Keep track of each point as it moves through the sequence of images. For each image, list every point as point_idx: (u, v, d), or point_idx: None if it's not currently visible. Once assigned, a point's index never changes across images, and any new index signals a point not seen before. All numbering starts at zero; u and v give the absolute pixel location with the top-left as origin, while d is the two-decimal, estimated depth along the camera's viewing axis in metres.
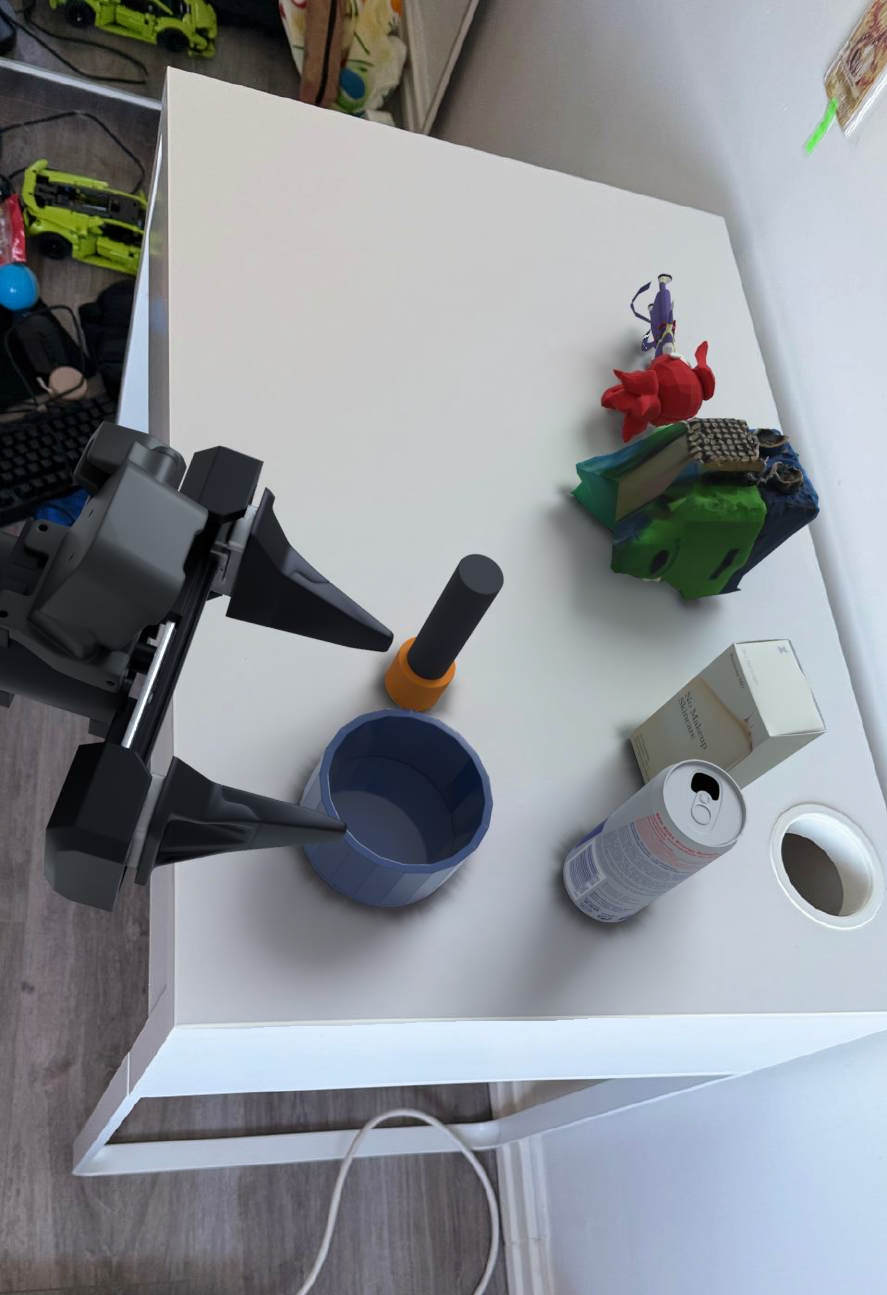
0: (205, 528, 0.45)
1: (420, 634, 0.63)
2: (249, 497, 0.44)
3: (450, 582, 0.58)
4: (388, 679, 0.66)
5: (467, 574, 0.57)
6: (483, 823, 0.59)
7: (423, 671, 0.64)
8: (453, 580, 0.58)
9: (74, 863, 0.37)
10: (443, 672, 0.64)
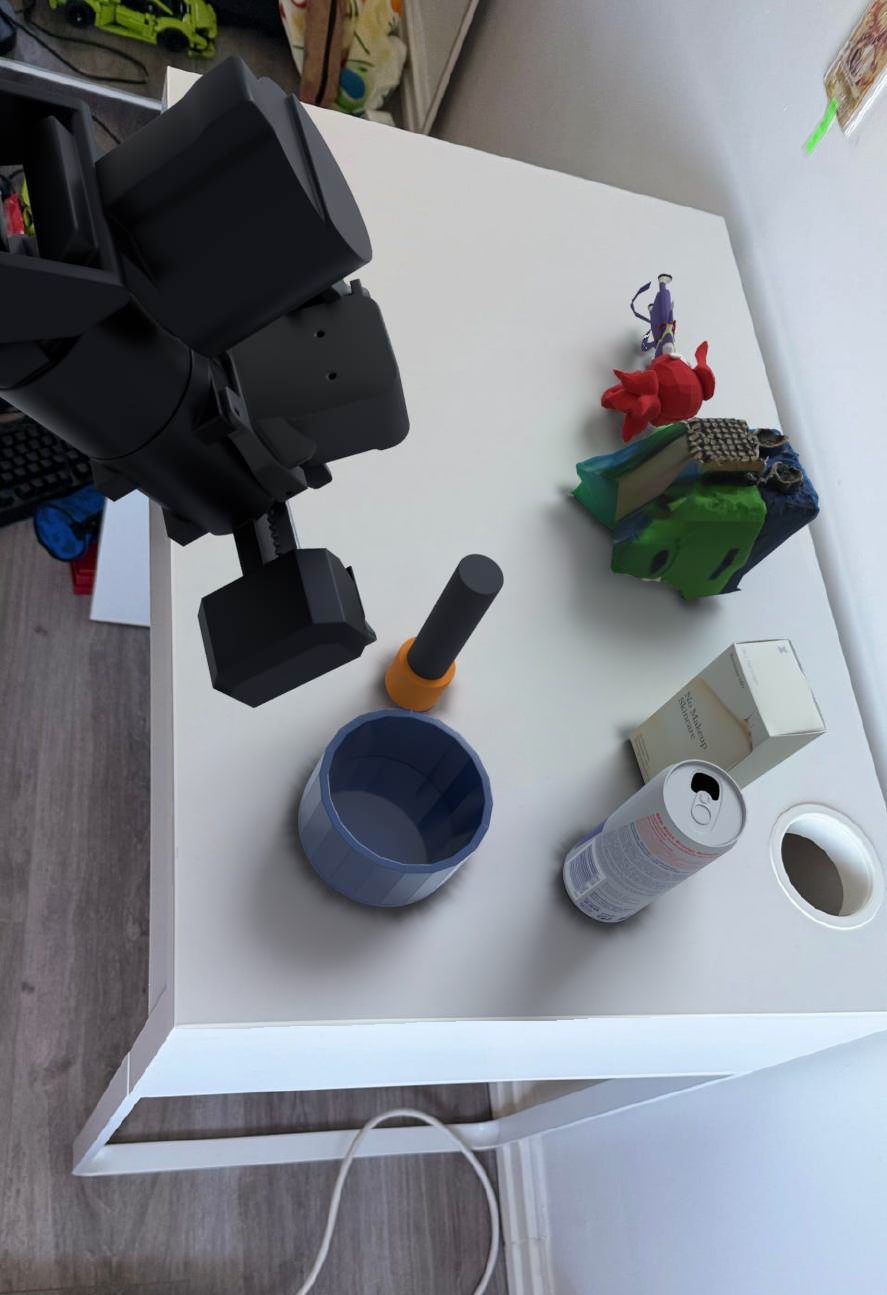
0: None
1: (420, 634, 0.63)
2: None
3: (450, 582, 0.58)
4: (388, 679, 0.66)
5: (467, 574, 0.57)
6: (483, 823, 0.59)
7: (423, 671, 0.64)
8: (453, 580, 0.58)
9: (312, 657, 0.41)
10: (443, 672, 0.64)
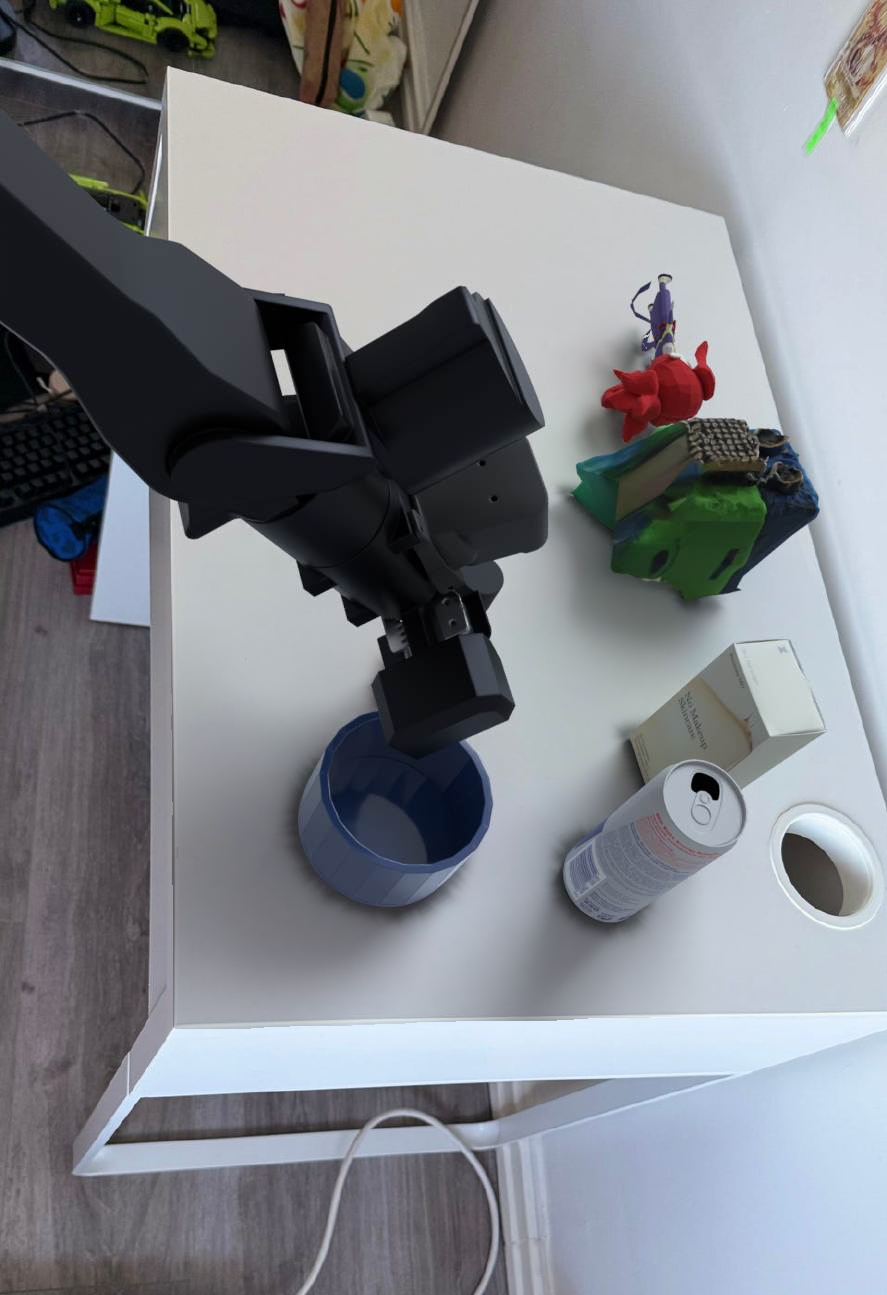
0: None
1: None
2: None
3: None
4: None
5: (467, 574, 0.57)
6: (483, 823, 0.59)
7: None
8: None
9: (472, 721, 0.51)
10: None
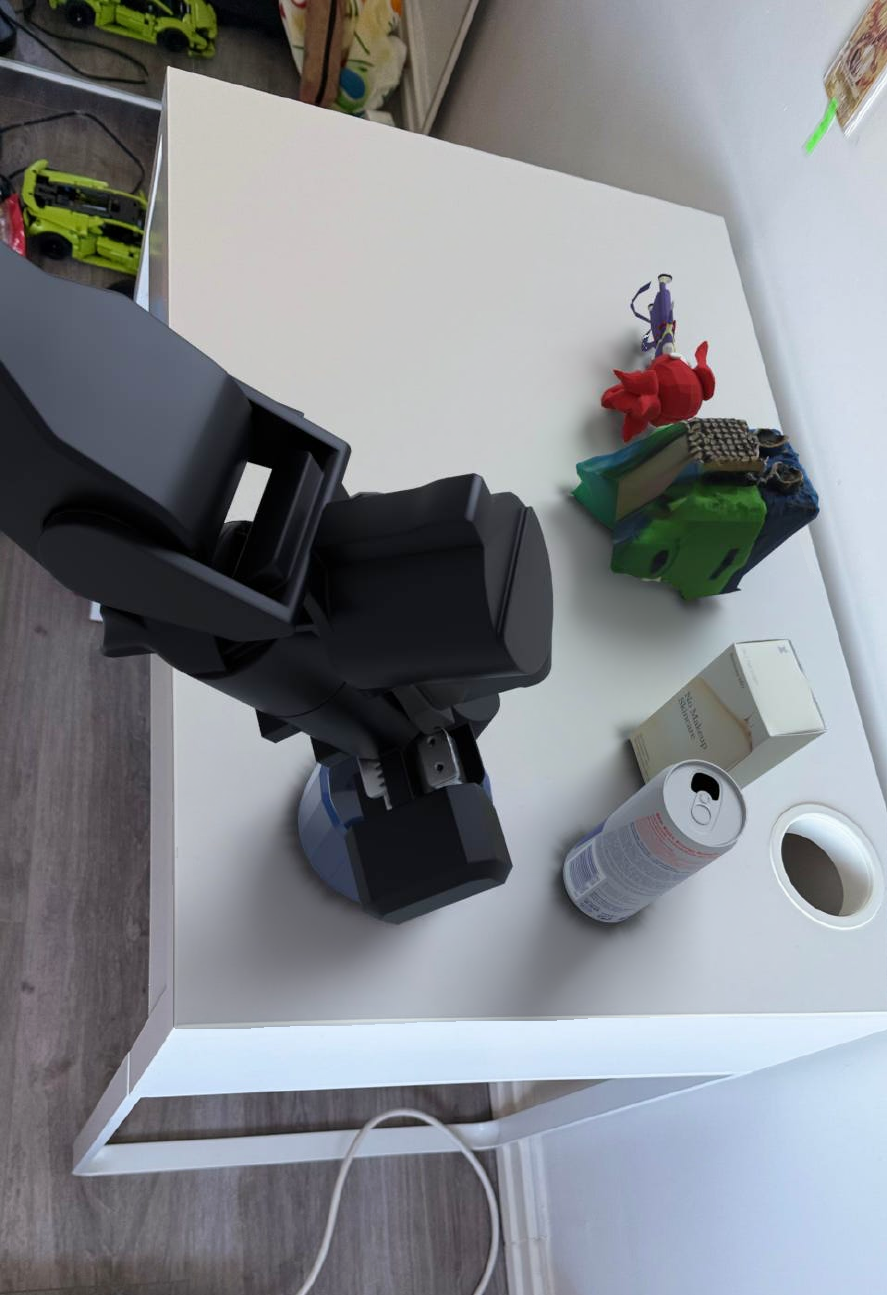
0: None
1: None
2: None
3: None
4: None
5: None
6: None
7: None
8: None
9: (462, 889, 0.43)
10: None
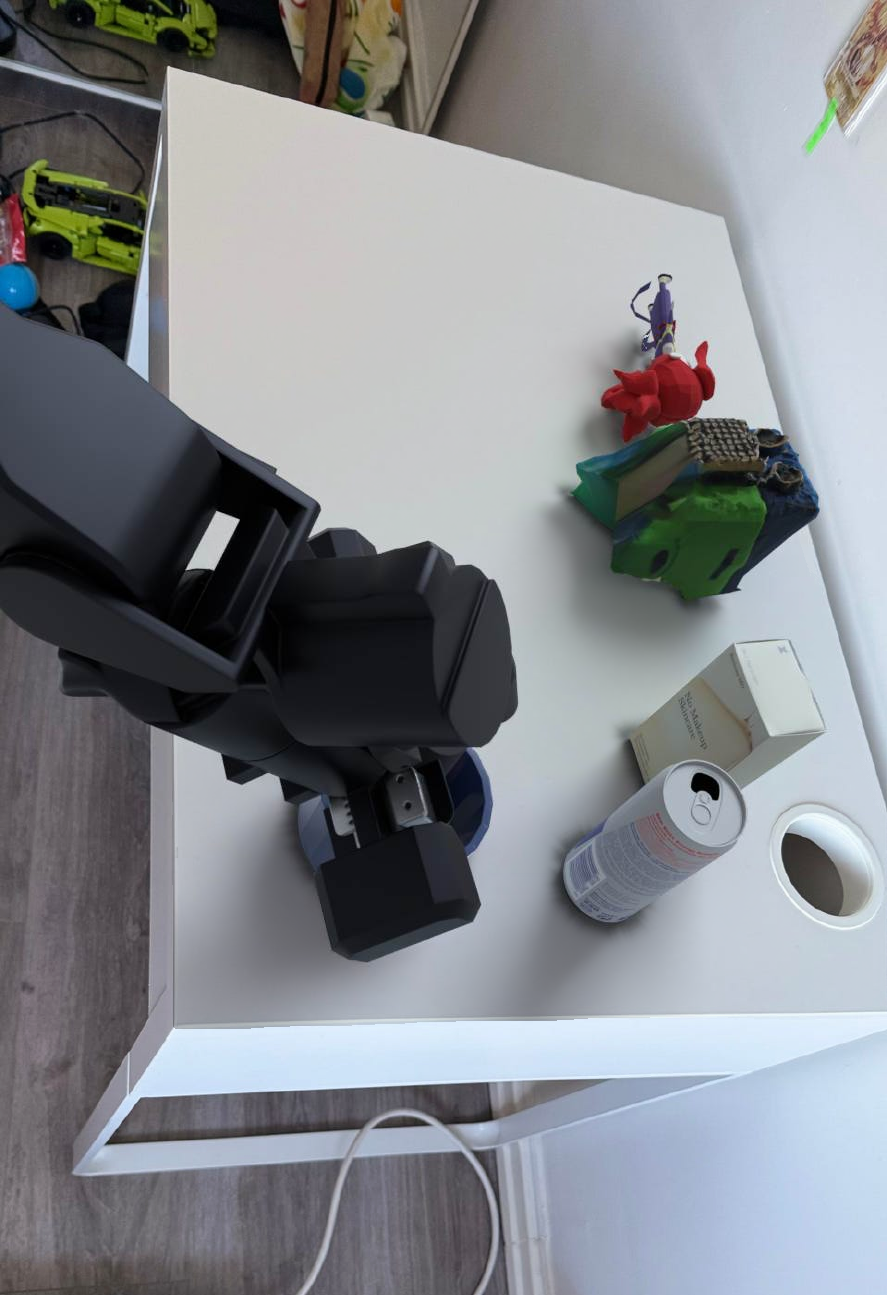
0: None
1: None
2: None
3: None
4: None
5: None
6: (483, 823, 0.59)
7: None
8: None
9: (430, 928, 0.43)
10: None
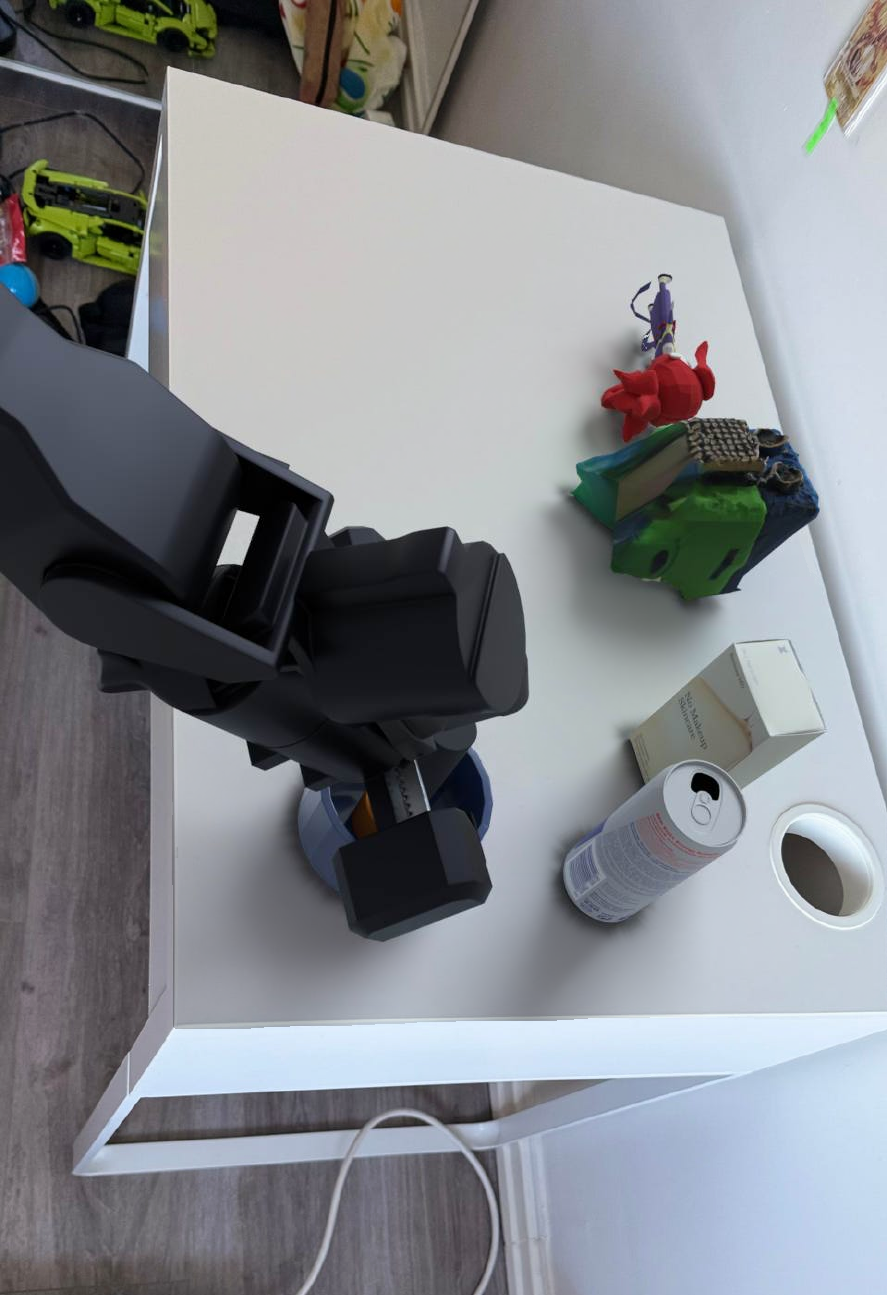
0: None
1: None
2: None
3: None
4: (355, 819, 0.61)
5: None
6: (483, 823, 0.59)
7: None
8: None
9: (444, 909, 0.46)
10: None
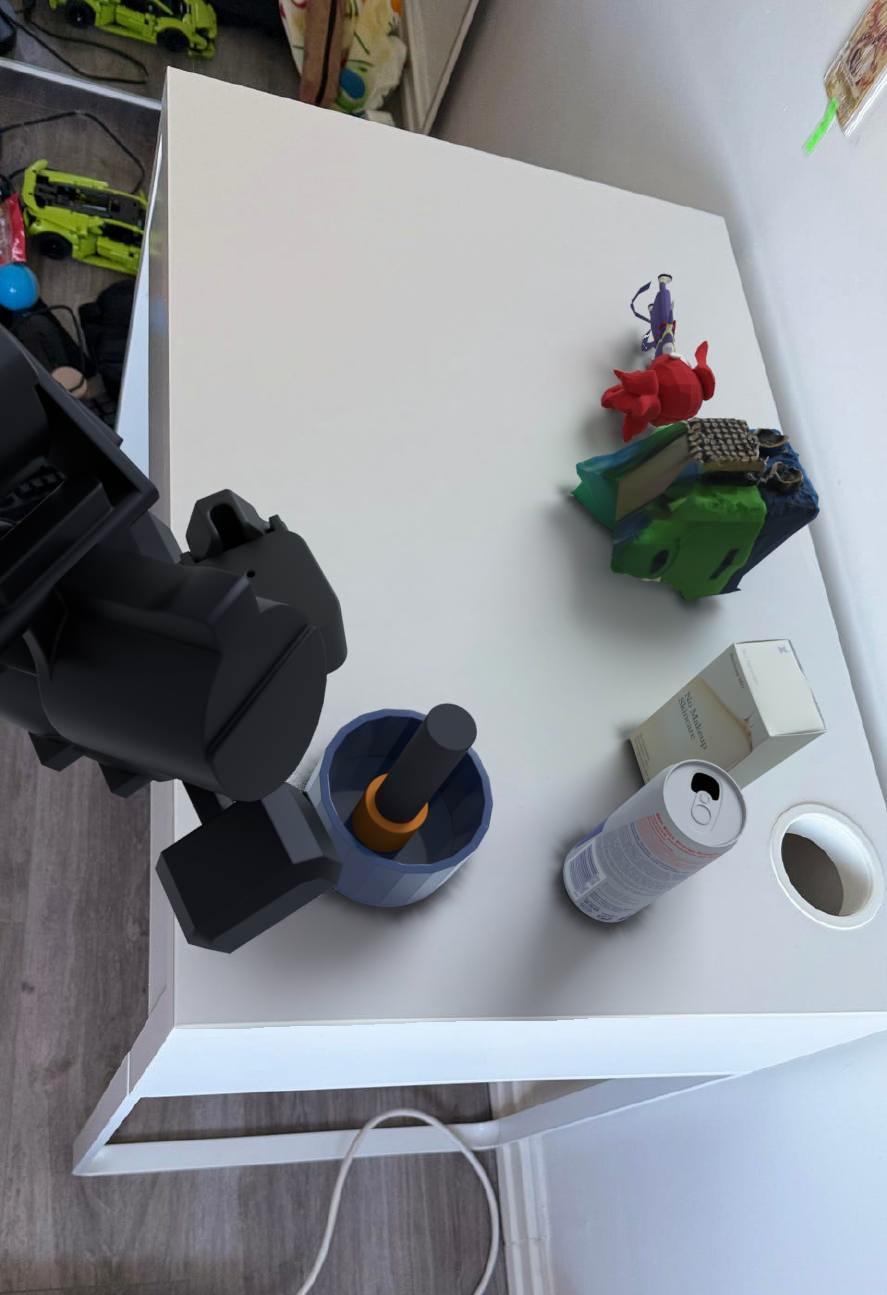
0: None
1: (388, 779, 0.57)
2: None
3: (418, 734, 0.53)
4: (355, 819, 0.61)
5: (436, 728, 0.52)
6: (483, 823, 0.59)
7: (392, 816, 0.59)
8: (421, 733, 0.52)
9: (293, 895, 0.40)
10: (414, 816, 0.59)
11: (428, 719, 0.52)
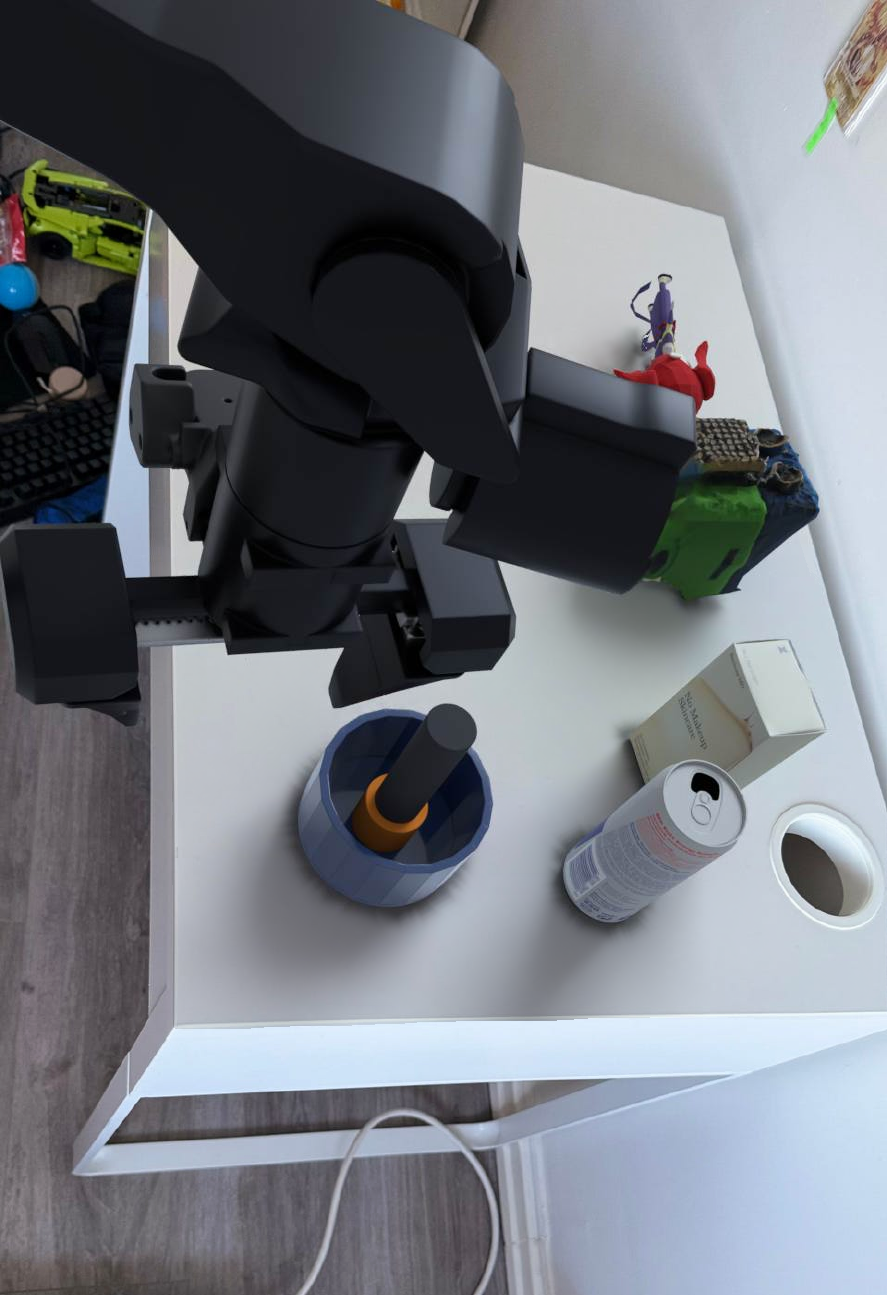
0: None
1: (388, 779, 0.57)
2: None
3: (418, 734, 0.53)
4: (355, 819, 0.61)
5: (436, 728, 0.52)
6: (483, 823, 0.59)
7: (392, 816, 0.59)
8: (421, 733, 0.52)
9: None
10: (414, 816, 0.59)
11: (428, 719, 0.52)
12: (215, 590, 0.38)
